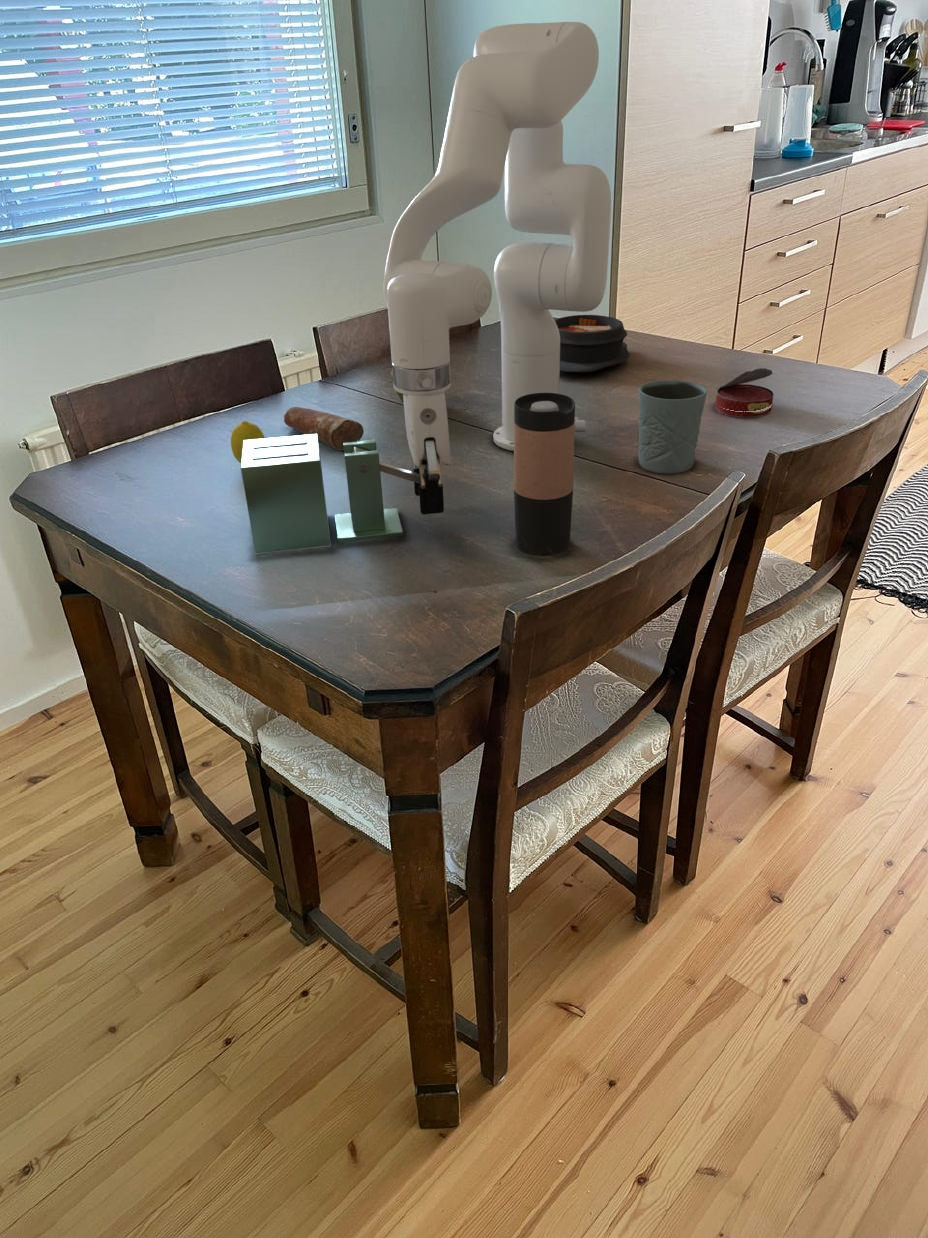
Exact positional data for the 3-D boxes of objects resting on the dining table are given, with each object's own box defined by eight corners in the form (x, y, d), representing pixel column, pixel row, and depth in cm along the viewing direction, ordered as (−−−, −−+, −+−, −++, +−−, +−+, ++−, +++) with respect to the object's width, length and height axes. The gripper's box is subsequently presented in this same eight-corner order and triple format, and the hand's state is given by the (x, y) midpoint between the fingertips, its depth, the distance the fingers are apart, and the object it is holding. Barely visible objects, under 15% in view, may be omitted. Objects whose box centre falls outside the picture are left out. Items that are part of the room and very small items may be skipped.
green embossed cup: (628, 471, 145) (633, 396, 138) (640, 448, 153) (645, 376, 147) (693, 478, 142) (701, 401, 135) (703, 454, 150) (711, 381, 143)
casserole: (565, 344, 208) (566, 305, 204) (645, 352, 201) (648, 312, 196) (520, 375, 189) (520, 333, 185) (606, 385, 182) (608, 342, 177)
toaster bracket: (397, 515, 134) (391, 434, 127) (403, 539, 127) (397, 455, 121) (335, 521, 133) (325, 440, 126) (338, 546, 126) (328, 461, 120)
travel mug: (510, 536, 127) (509, 393, 116) (565, 532, 127) (569, 390, 117) (518, 562, 120) (517, 414, 110) (576, 558, 121) (581, 410, 110)
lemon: (275, 463, 153) (268, 416, 148) (258, 476, 148) (250, 428, 144) (246, 460, 154) (238, 413, 150) (228, 472, 150) (220, 425, 146)
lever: (428, 483, 131) (435, 468, 130) (434, 499, 126) (440, 483, 125) (347, 457, 127) (353, 441, 126) (350, 472, 122) (356, 456, 121)
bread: (336, 457, 154) (333, 425, 151) (279, 429, 167) (275, 399, 164) (368, 447, 157) (365, 416, 154) (310, 420, 170) (306, 391, 167)
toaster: (328, 519, 133) (317, 432, 127) (331, 550, 125) (320, 459, 118) (257, 526, 132) (242, 439, 125) (255, 558, 124) (240, 467, 117)
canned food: (723, 440, 167) (701, 392, 163) (727, 415, 175) (706, 370, 171) (785, 416, 161) (764, 367, 157) (786, 392, 169) (766, 344, 165)
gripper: (461, 393, 113) (465, 526, 123) (440, 355, 128) (446, 477, 137) (400, 398, 112) (409, 532, 122) (386, 359, 127) (396, 482, 136)
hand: (429, 502), depth 129 cm, fingers closed on lever, 5 cm apart
